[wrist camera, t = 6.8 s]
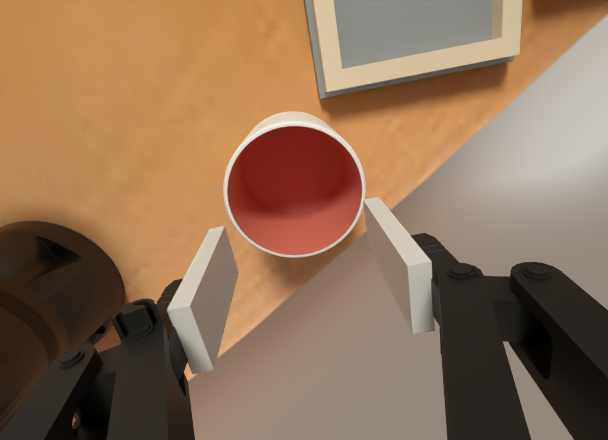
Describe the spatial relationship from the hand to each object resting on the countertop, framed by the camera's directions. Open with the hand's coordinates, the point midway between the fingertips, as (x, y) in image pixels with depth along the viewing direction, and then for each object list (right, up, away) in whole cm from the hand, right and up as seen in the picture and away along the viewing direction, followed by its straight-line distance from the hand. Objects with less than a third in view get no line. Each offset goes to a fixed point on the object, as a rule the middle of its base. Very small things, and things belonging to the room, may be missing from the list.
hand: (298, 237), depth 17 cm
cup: (-1, +6, +16) cm, 17 cm away
